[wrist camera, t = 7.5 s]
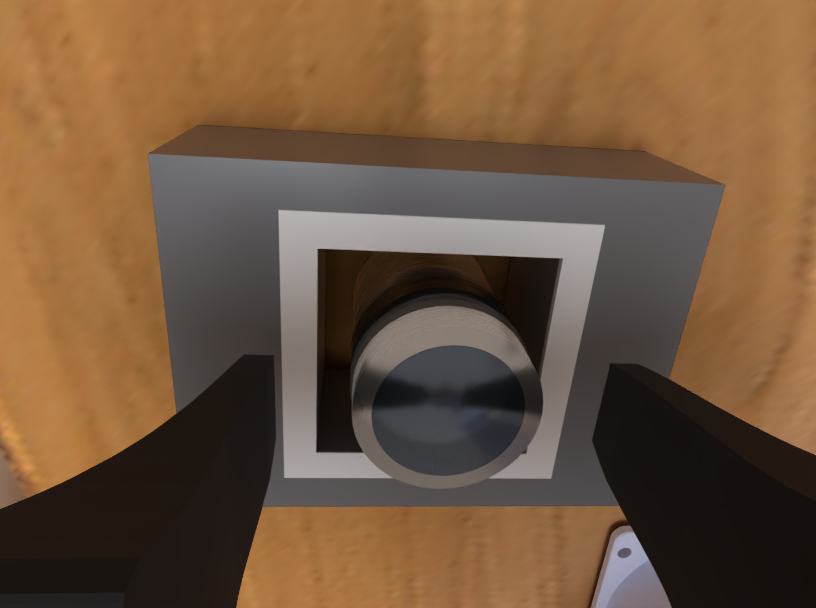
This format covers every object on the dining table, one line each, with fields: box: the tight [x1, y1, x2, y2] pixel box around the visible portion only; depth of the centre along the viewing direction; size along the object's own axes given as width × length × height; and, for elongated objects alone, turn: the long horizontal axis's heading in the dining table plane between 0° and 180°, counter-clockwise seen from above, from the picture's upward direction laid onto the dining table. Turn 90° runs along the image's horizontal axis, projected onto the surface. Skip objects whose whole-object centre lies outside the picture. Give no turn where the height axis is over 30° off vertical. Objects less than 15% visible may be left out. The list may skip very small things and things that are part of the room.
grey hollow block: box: [148, 125, 725, 507], centre depth 16 cm, size 9×12×4 cm
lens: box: [350, 251, 543, 489], centre depth 15 cm, size 4×4×6 cm
